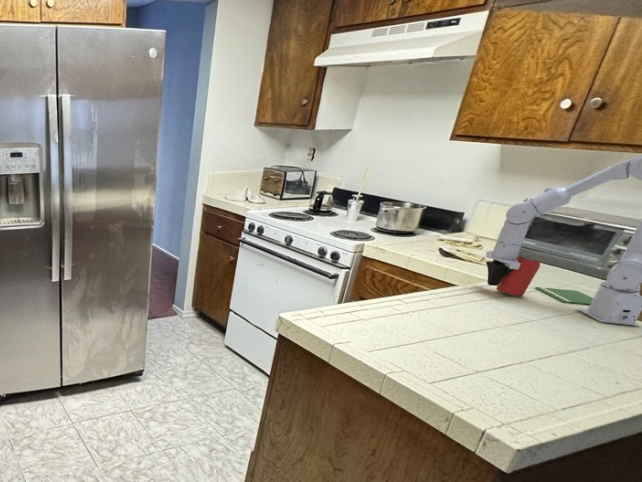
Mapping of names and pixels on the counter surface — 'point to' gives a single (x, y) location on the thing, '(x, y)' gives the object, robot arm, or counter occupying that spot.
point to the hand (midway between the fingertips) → (492, 284)
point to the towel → (567, 296)
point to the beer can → (519, 276)
